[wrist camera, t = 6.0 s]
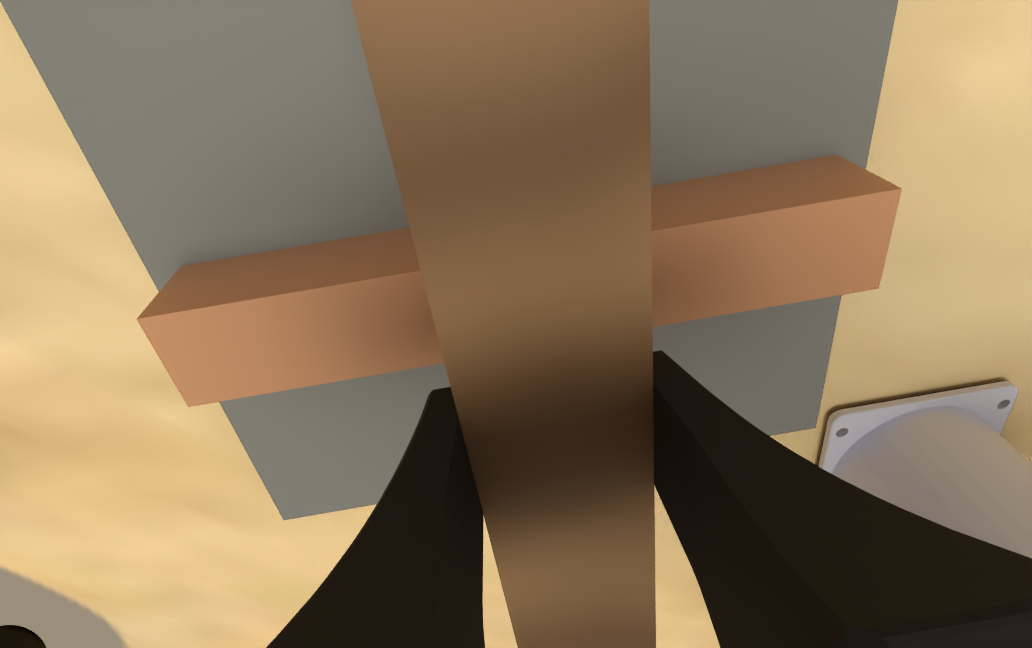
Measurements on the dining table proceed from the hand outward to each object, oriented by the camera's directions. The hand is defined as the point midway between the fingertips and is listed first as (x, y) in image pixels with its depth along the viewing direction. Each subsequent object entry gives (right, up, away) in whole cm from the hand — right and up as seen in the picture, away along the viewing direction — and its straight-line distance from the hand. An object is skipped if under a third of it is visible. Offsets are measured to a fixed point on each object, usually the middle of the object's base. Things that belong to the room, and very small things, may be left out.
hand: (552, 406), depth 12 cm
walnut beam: (0, +2, +3) cm, 4 cm away
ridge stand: (-1, +4, +7) cm, 8 cm away
